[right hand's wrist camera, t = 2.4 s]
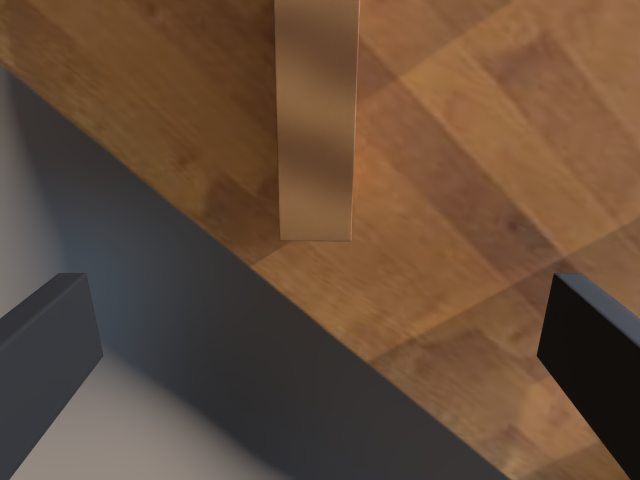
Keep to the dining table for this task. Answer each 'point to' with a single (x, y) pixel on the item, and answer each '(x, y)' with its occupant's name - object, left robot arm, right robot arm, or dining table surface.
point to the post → (316, 116)
